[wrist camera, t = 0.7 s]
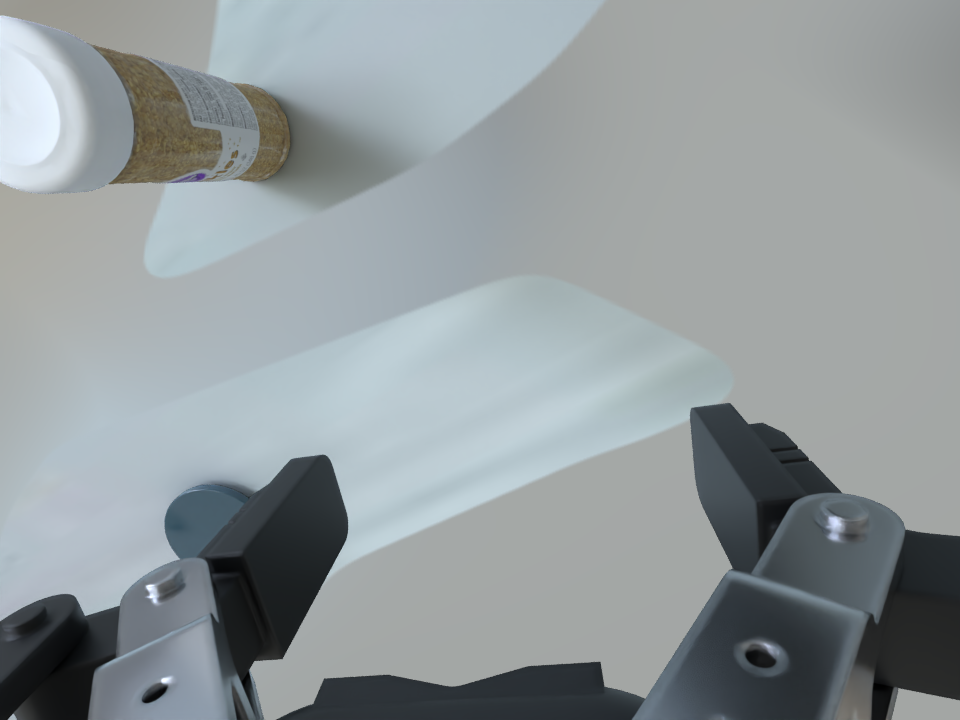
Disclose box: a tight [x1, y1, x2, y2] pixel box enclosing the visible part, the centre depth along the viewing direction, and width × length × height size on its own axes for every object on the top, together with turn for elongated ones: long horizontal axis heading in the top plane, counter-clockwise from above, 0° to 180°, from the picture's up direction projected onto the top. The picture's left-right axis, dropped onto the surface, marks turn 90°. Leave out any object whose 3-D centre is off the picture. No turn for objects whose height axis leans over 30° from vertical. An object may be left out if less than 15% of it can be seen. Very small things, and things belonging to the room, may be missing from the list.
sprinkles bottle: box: [0, 16, 290, 194], centre depth 21 cm, size 5×5×14 cm
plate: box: [165, 485, 249, 559], centre depth 36 cm, size 7×7×1 cm
